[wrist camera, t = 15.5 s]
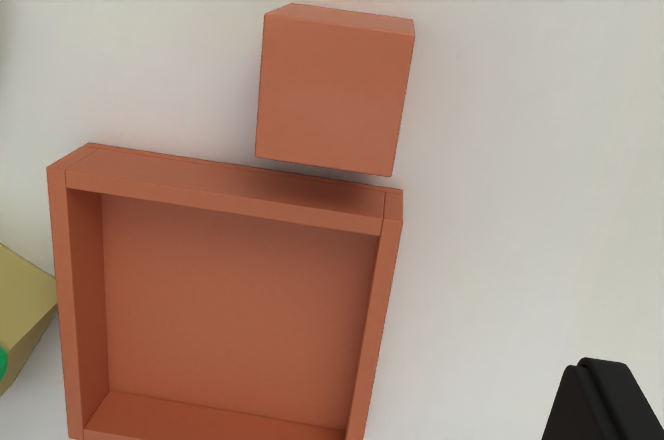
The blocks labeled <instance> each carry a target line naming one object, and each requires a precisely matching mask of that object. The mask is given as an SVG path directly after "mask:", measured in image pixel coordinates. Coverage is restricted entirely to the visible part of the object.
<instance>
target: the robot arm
mask: <svg viewBox="0 0 664 440" xmlns="http://www.w3.org/2000/svg"><path fill="white" fill-rule="evenodd" d="M542 440H664V430H663V428H662V426H661V424H660V423H659V421H658V419H657V417H656V415H655V414H654V412H653V410H652V408H651V407H650V405H649V403H648V401H647V399H646V398H645V396H644V394H643V392H642V391H641V389H640V387H639V385H638V384H637V382H636V380H635V378H634V376H633V375H632V373H631V371H630V369H629V368H628V367H627V365H626V364H624V363H620V362H613V361H607V360H600V359H593V358H586V357H585V358H582V359H581V360H580V361H579V362H578V364H577V366H573V365H569V366H567V367H566V369H565V371H564V373H563V376H562V379H561V382H560V385H559V388H558V391H557V394H556V397H555V400H554V403H553V406H552V409H551V412H550V415H549V418H548V421H547V424H546V428H545V431H544V434H543V437H542Z"/></svg>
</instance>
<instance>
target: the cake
mask: <svg viewBox="0 0 664 440" xmlns="http://www.w3.org/2000/svg"><path fill="white" fill-rule="evenodd" d="M57 311H58V302H57V290H56V279H55V278H53V277H52V276H50V275H49V274H47V273H45V272H44V271H42V270H41V269H39V268H38V267H36V266H34V265H33V264H31V263H30V262H28V261H27V260H25V259H23V258H22V257H20V256H19V255H17V254H16V253H14V252H12V251H11V250H9V249H8V248H6V247H5V246H3V245H1V244H0V397H1V396H2V395H3V394H4V393H5V392H6V390H7V389H8V388H9V387H10V386H11V385H12V383H13V381H14V380H15V378H16V377H17V375H18V373H19V372H20V370H21V369H22V367H23V365H24V364H25V362H26V361H27V359H28V357H29V356H30V354H31V352H32V351H33V349H34V348H35V346H36V344H37V343H38V341H39V340H40V338H41V336H42V335H43V333H44V332H45V330H46V328H47V327H48V325H49V323H50V322H51V320H52V319H53V317H54V315H55V314H56V312H57Z"/></svg>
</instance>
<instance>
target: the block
mask: <svg viewBox="0 0 664 440" xmlns="http://www.w3.org/2000/svg"><path fill="white" fill-rule="evenodd" d="M414 41H415V31H414V24H413V20H412V19H405V18H398V17H390V16H383V15H376V14H368V13H361V12H354V11H346V10H339V9H331V8H324V7H317V6H309V5H302V4H294V3H291V4H288V5H286V6H283V7H281V8H278V9H276V10H273V11H271V12H268V13H266V14H265V15H264V26H263V40H262V55H261V70H260V84H259V99H258V114H257V128H256V143H255V157H257V158H264V159H271V160H277V161H284V162H291V163H297V164H304V165H311V166H318V167H324V168H331V169H338V170H344V171H351V172H358V173H364V174H371V175H378V176H384V177H391V176H392V171H393V165H394V159H395V153H396V147H397V141H398V135H399V129H400V123H401V117H402V112H403V106H404V100H405V94H406V88H407V82H408V76H409V70H410V64H411V59H412V53H413V47H414Z"/></svg>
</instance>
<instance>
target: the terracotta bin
mask: <svg viewBox="0 0 664 440" xmlns="http://www.w3.org/2000/svg"><path fill="white" fill-rule="evenodd" d="M46 169H47V182H48V194H49V206H50V218H51V230H52V242H53V254H54V266H55V278H56V290H57V302H58V314H59V326H60V338H61V350H62V362H63V374H64V386H65V398H66V411H67V423H68V435H69V438H70V439H76V440H363V437H364V431H365V426H366V420H367V415H368V410H369V404H370V399H371V393H372V388H373V382H374V377H375V372H376V366H377V361H378V355H379V350H380V344H381V339H382V334H383V328H384V323H385V317H386V312H387V307H388V301H389V296H390V290H391V285H392V279H393V274H394V269H395V263H396V258H397V252H398V247H399V241H400V236H401V231H402V225H403V190H400V189H393V188H387V187H380V186H373V185H367V184H360V183H353V182H347V181H340V180H333V179H327V178H320V177H313V176H307V175H300V174H293V173H287V172H280V171H273V170H267V169H260V168H254V167H247V166H240V165H234V164H227V163H220V162H214V161H207V160H200V159H194V158H187V157H180V156H174V155H167V154H160V153H154V152H147V151H140V150H134V149H127V148H120V147H114V146H107V145H101V144H94V143H87V144H85V145H84V146H82V147H80V148H78V149H77V150H75V151H73V152H72V153H70V154H68V155H66V156H65V157H63V158H61V159H60V160H58V161H56V162H55V163H53V164H51V165H49V166H48V167H47V168H46Z"/></svg>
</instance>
